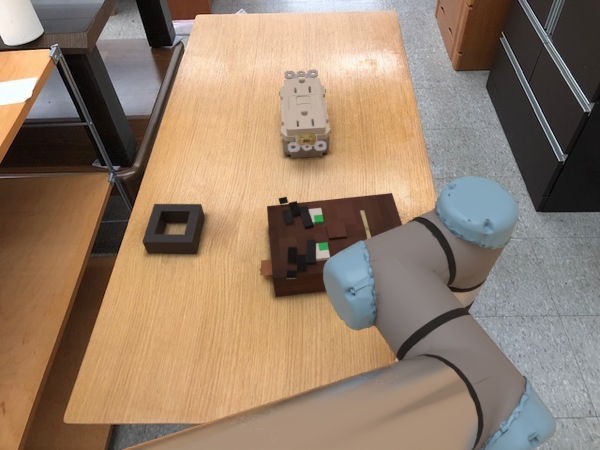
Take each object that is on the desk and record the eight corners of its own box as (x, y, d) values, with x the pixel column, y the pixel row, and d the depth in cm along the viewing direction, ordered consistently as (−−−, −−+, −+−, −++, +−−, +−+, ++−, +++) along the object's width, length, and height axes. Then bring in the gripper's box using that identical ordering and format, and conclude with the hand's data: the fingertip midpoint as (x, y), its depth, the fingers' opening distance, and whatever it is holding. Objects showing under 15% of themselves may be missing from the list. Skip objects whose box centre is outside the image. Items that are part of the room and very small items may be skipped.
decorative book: (430, 263, 78) (258, 282, 77) (422, 286, 84) (263, 304, 83) (402, 184, 90) (254, 200, 89) (397, 209, 96) (258, 223, 95)
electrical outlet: (323, 95, 121) (323, 63, 113) (332, 174, 105) (334, 144, 96) (280, 97, 121) (277, 66, 113) (283, 177, 105) (280, 147, 96)
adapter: (196, 254, 90) (192, 242, 87) (148, 253, 91) (141, 241, 88) (205, 216, 96) (201, 203, 93) (159, 215, 97) (154, 203, 94)
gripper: (531, 318, 51) (474, 388, 69) (408, 223, 60) (386, 307, 78) (491, 359, 48) (443, 421, 66) (368, 253, 57) (355, 333, 75)
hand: (412, 359), depth 72 cm, fingers closed on pill bottle, 5 cm apart
